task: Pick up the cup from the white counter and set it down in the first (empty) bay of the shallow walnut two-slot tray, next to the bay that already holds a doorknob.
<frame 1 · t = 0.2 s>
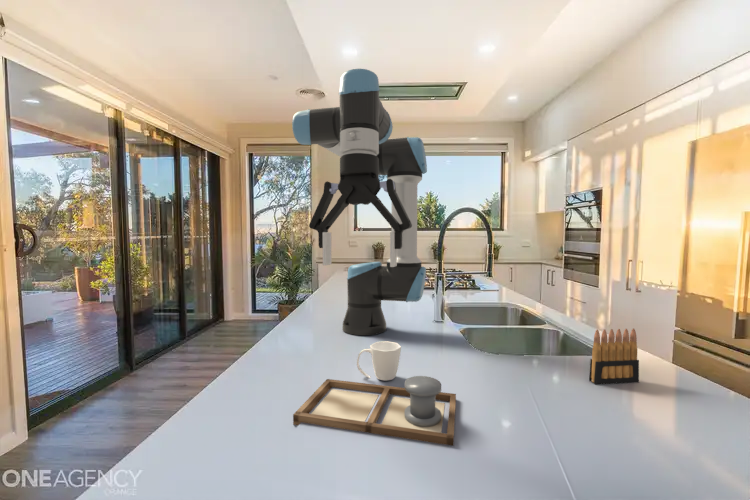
hand: (359, 265, 66), 27 cm above the countertop, fingers open, 13 cm apart
cup: (378, 381, 76), on the countertop
ammunition clip: (613, 382, 76), on the countertop
doorknob: (422, 416, 60), point 1 cm above the countertop, touching slot tray
slot tray: (379, 413, 63), on the countertop
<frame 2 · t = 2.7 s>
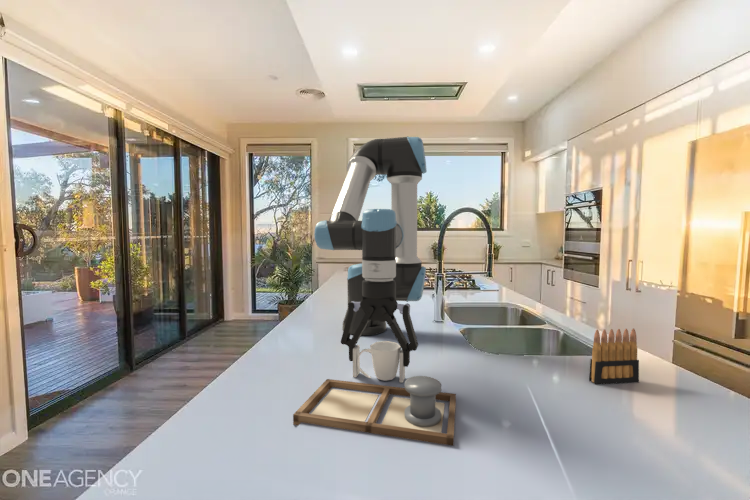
hand: (378, 377, 76), 1 cm above the countertop, fingers closed on cup, 10 cm apart
cup: (378, 381, 76), on the countertop, touching gripper
everything else where it was.
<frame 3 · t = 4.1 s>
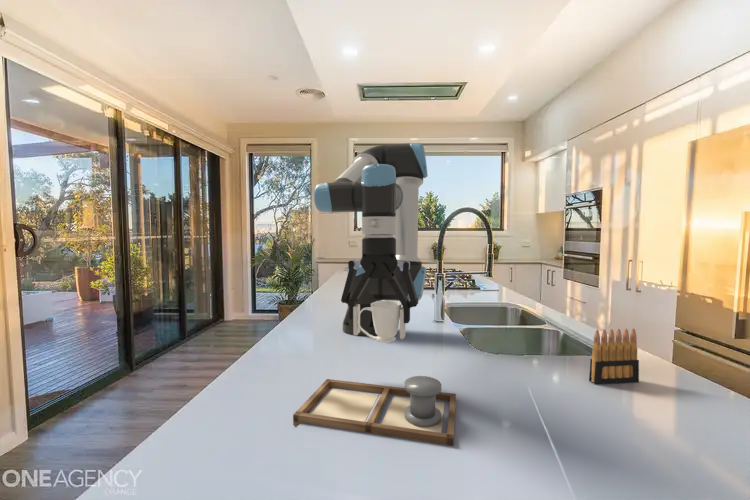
hand: (379, 335, 76), 10 cm above the countertop, fingers closed on cup, 10 cm apart
cup: (379, 339, 77), point 9 cm above the countertop, touching gripper
everything else where it was.
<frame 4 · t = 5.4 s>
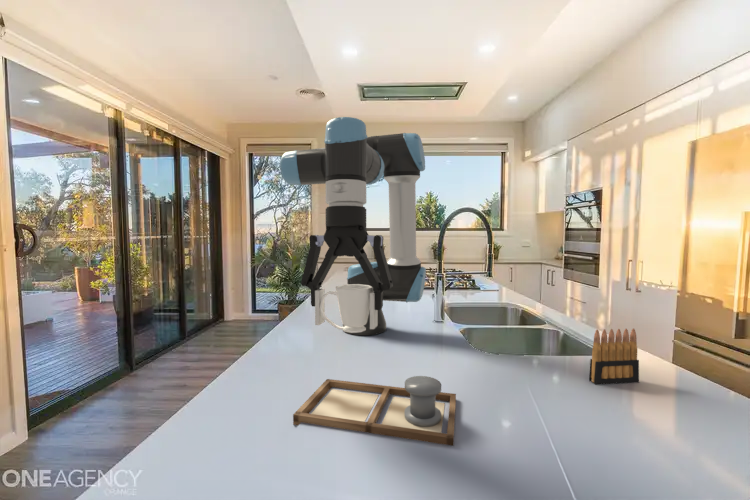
hand: (346, 325, 64), 16 cm above the countertop, fingers closed on cup, 10 cm apart
cup: (346, 330, 64), point 15 cm above the countertop, touching gripper
everything else where it was.
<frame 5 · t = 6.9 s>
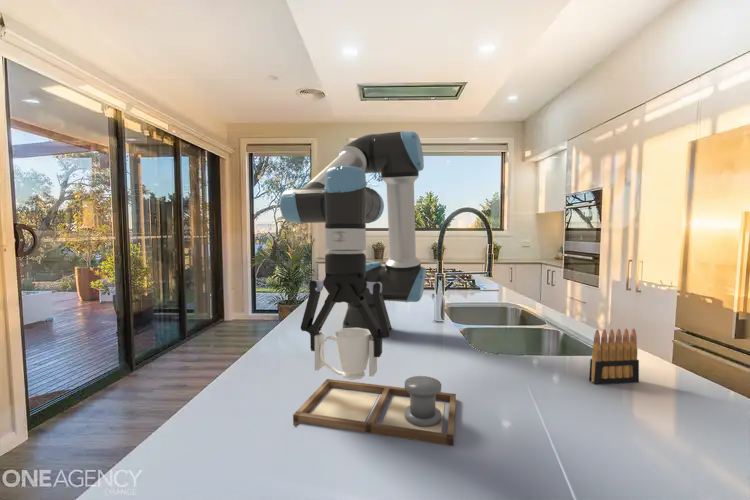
hand: (345, 370, 64), 7 cm above the countertop, fingers closed on cup, 10 cm apart
cup: (345, 375, 64), point 6 cm above the countertop, touching gripper
everything else where it was.
when the fingers open (3 cm above the countertop, at t = 8.3 s): cup drops 2 cm, resting on slot tray.
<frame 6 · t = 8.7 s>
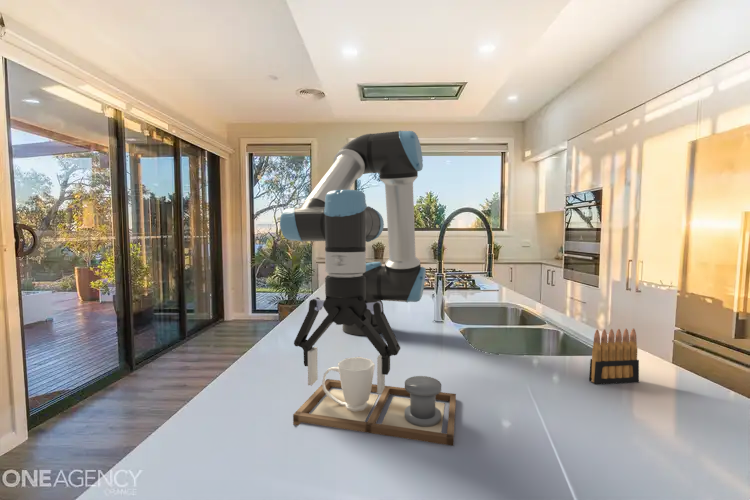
hand: (346, 386, 64), 4 cm above the countertop, fingers open, 13 cm apart
cup: (348, 406, 64), point 1 cm above the countertop, touching slot tray
everything else where it was.
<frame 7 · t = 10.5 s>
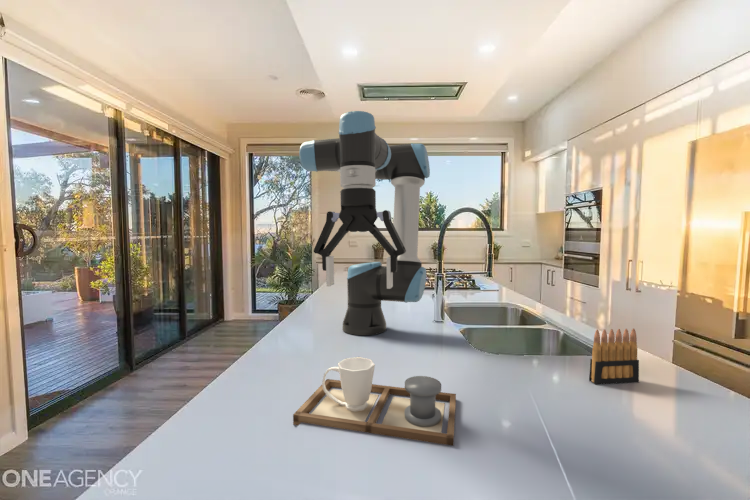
hand: (359, 286, 74), 22 cm above the countertop, fingers open, 13 cm apart
nothing on the countertop moved.
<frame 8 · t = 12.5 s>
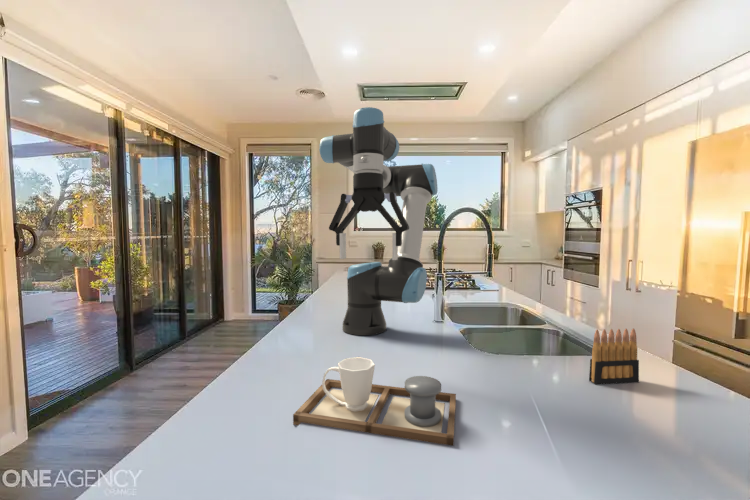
hand: (368, 259, 85), 27 cm above the countertop, fingers open, 13 cm apart
nothing on the countertop moved.
at the end: cup inside the target area (0.5 cm from its centre), point 0.5 cm above the countertop; cup tilted 0°; the gripper is holding nothing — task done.
